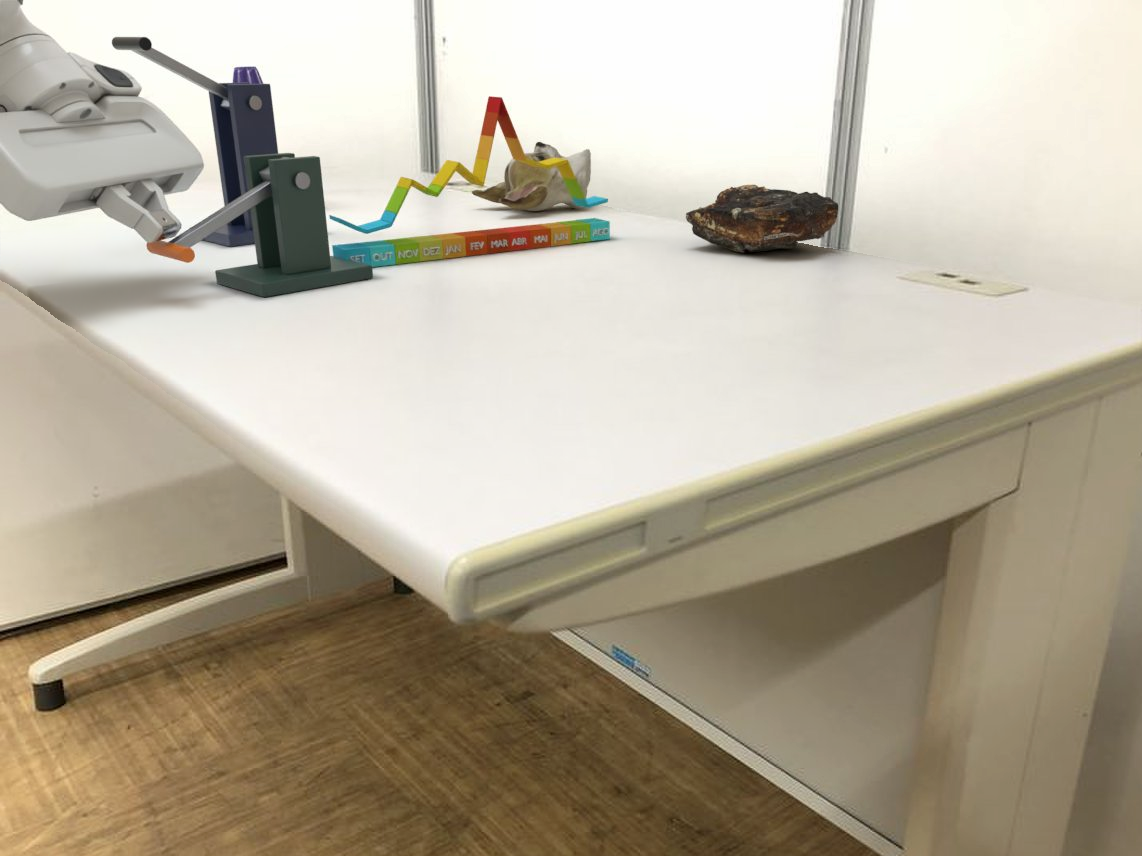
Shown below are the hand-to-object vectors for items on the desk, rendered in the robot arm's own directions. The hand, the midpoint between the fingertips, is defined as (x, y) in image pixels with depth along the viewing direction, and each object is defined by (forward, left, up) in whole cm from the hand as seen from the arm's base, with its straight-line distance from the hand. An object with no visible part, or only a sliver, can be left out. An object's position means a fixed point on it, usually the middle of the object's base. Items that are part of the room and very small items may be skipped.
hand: (167, 235), depth 86 cm
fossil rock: (+54, -20, -6) cm, 58 cm away
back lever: (+16, +24, +10) cm, 30 cm away
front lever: (+6, 0, 0) cm, 6 cm away
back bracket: (+21, +24, -5) cm, 32 cm away
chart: (+32, -1, -6) cm, 33 cm away
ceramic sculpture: (+56, +16, -6) cm, 59 cm away
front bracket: (+11, 0, -5) cm, 12 cm away
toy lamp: (+40, +56, -6) cm, 69 cm away
